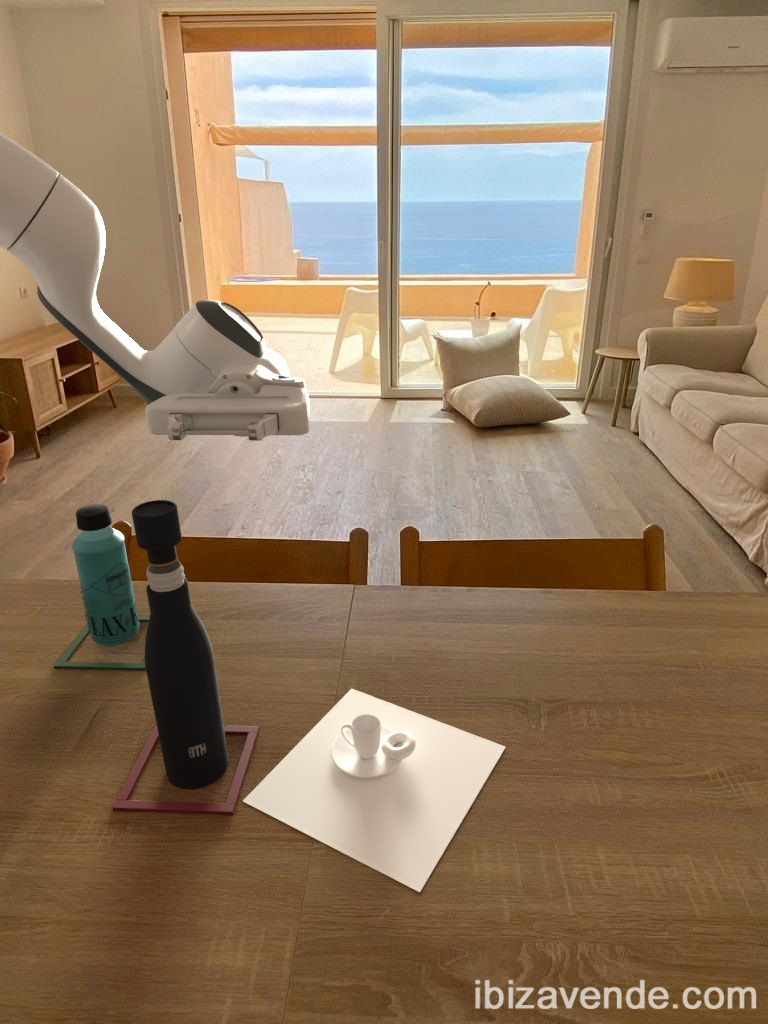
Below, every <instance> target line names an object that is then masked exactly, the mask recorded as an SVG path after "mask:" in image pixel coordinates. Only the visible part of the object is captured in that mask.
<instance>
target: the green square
mask: <svg viewBox="0 0 768 1024" xmlns="http://www.w3.org/2000/svg"><path fill="white" fill-rule="evenodd" d="M138 616H139V618H138V620H139V619H140V620H139V623H142V622H143V623H148V622H149V618H150V615H138ZM88 627H89V624H88V625H87V624H86V625H85V626H84V627H83V628H82V629H81V631H80V632H79V633H78V634H77V636H76V637H75V638H74V639H73V641H72V642H71V643H70V645H69V646H68V647H67V649H65V651H64V652H63V654H61V655H60V657H59V659H57V661H56V662H55V664H54V665H53V668H54V669H61V670H62V669H63V670H67V669H69V670H106V671H107V670H109V671H118V670H119V671H146V667H145V655H144V656H143V658H142V660H141V661H140V662H106V661H105V662H104V661H103V662H101V661H69V660H70V658H72V656H73V655H74V653H75V652H76V650H77V649H78V648H79V647H80V645H81V644H82V643H83V642H84V640H85V639H86V638H87V637H88V635H90V634H89V633H90V632H89V631H90V629H89V630H88Z"/></svg>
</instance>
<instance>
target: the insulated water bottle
mask: <svg viewBox="0 0 768 1024" xmlns="http://www.w3.org/2000/svg"><path fill="white" fill-rule="evenodd" d="M179 515H180V514H179V509H178V504H177V503H175V502H173V501H171V500H166V499H157V500H149V501H146V502H142V503H140V504H138V505H136V506H134V508H133V509H132V510H131V517H132V523H133V528H134V534H135V539H136V545H137V546H138V548H139V549H141V550H144V551H146V554H147V555H146V556H147V564H148V566H147V568H146V574H145V576H146V578H147V585H146V596H147V601H148V606H149V607H148V608H149V612H150V614H149V616H150V618H149V622H147V628H146V633H145V643H144V656H145V667H146V670H145V671H146V675H147V676H146V677H147V682H148V686H149V693H150V698H151V702H152V707H153V712H154V718H155V724H157V729H158V734H159V738H158V740H159V743H160V749H161V754H162V760H163V764H164V771H165V775H166V777H167V779H168V782H169V783H171V785H173V786H174V787H176V788H180V789H182V790H197V789H202V788H205V787H207V786H209V785H212V784H214V783H215V782H216V781H218V780H219V779H220V778H221V777H222V776H223V775H224V774H225V772H226V771H227V768H228V766H229V755H228V747H227V740H226V734H225V732H224V719H223V712H222V704H221V698H220V691H219V684H218V678H217V677H218V676H217V670H216V664H215V656H214V648H213V645H212V642H211V639H210V636H209V634H208V632H207V629H206V627H205V625H204V623H203V621H202V619H201V618H200V616H199V615H198V613H197V611H196V610H195V608H194V606H193V604H192V597H191V591H190V585H189V581H188V579H187V578H186V577H185V576H186V575H185V573H184V570H185V569H184V566H183V565H182V562H181V561H180V560H179V554H178V553H177V548H176V546H177V545H178V544H180V543H181V541H182V540H183V535H182V529H181V522H180V516H179Z"/></svg>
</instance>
